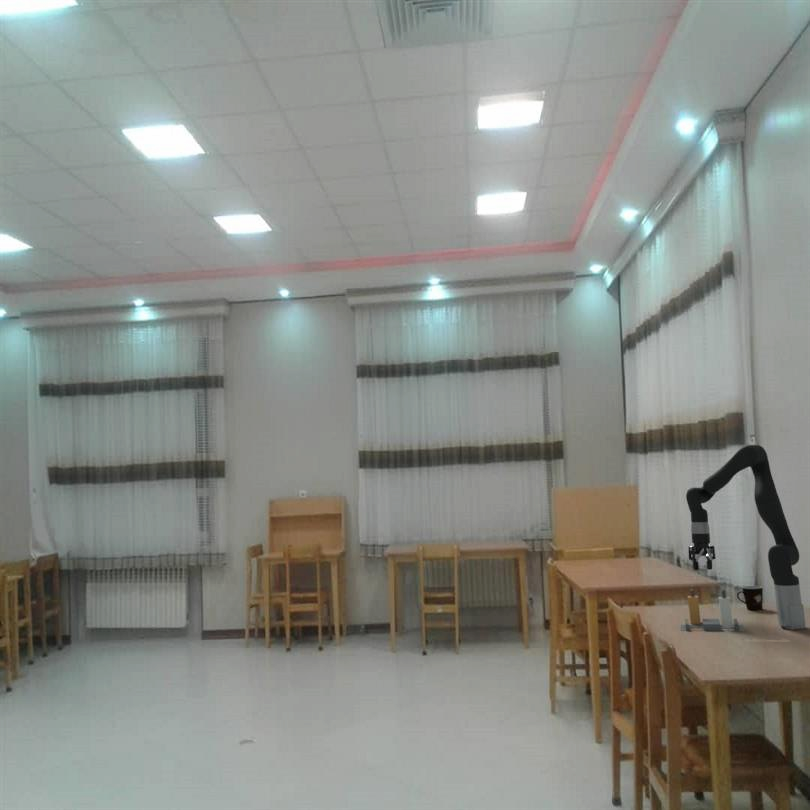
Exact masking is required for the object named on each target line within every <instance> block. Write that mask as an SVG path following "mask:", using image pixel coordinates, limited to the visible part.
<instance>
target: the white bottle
mask: <svg viewBox="0 0 810 810" xmlns="http://www.w3.org/2000/svg"><path fill="white" fill-rule="evenodd" d="M718 603H719V604H718V605H719V613H720V614H719V615H720V620H721V623H720V624H721V625H722V629H733V625H734V622H733V617H732V616H733V615H732V608H731V598H730V596H727V593H726V590H724V589H721V596H719V597H718Z"/></svg>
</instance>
